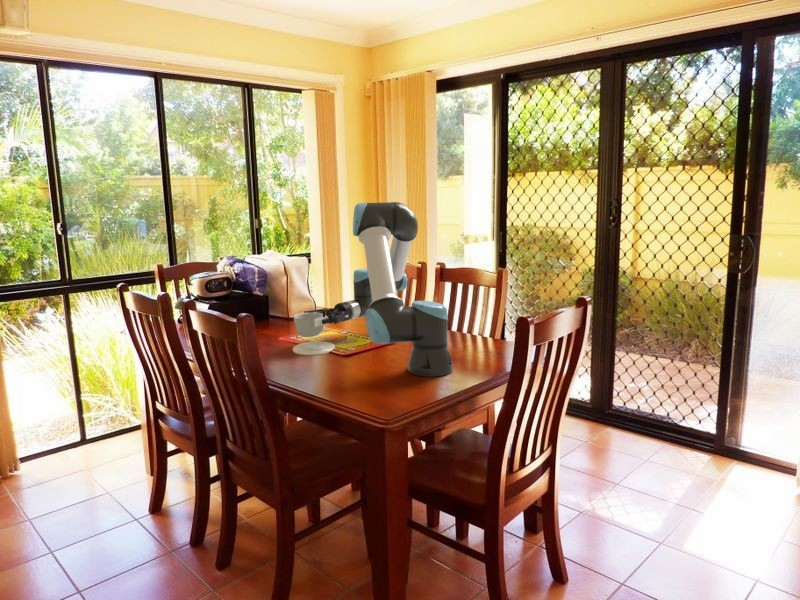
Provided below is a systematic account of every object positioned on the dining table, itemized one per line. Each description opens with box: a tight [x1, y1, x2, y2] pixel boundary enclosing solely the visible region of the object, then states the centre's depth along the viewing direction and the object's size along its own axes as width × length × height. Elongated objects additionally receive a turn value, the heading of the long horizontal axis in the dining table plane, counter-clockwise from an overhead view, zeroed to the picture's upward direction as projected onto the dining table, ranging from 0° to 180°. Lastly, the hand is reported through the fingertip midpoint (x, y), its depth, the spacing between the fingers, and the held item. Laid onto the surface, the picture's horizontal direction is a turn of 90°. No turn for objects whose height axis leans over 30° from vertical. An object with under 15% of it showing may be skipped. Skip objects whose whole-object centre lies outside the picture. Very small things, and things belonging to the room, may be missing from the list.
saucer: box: [292, 341, 336, 356], centre depth 228 cm, size 16×16×1 cm
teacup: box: [293, 312, 324, 338], centre depth 227 cm, size 14×11×8 cm
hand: (304, 321), depth 223 cm, fingers closed on teacup, 11 cm apart
